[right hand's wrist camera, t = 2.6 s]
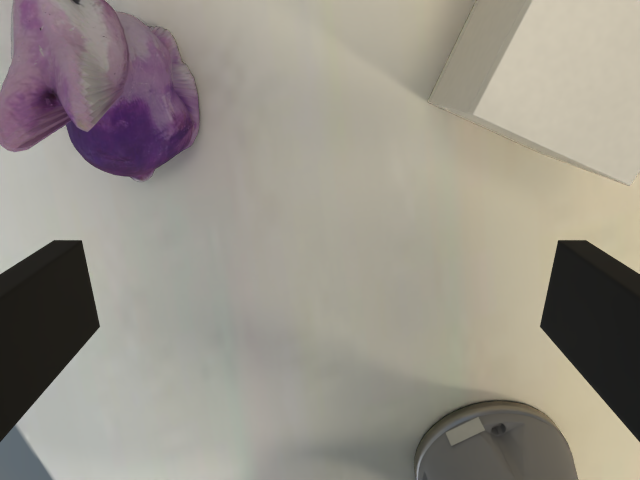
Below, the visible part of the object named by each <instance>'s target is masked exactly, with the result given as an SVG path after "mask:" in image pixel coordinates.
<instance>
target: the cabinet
mask: <svg viewBox="0 0 640 480" xmlns="http://www.w3.org/2000/svg"><path fill="white" fill-rule="evenodd" d="M428 103H430V104H433V105H435V106H437V107H439V108H441V109H444V110H446V111H448V112H450V113H453V114H455V115H457V116H459V117H461V118H464V119H466V120H468V121H470V122H472V123H475V124H477V125H479V126H481V127H484V128H486V129H488V130H490V131H492V132H495V133H497V134H499V135H501V136H503V137H506V138H508V139H510V140H512V141H514V142H517V143H519V144H521V145H523V146H526V147H528V148H530V149H532V150H534V151H537V152H539V153H541V154H544V155H547V156H549V157H552V158H554V159H557V160H560V161H563V162H565V163H568V164H571V165H573V166H576V167H579V168H582V169H584V170H587V171H590V172H592V173H595V174H598V175H601V176H603V177H606V178H609V179H611V180H614V181H617V182H620V183H622V184H625V185H628V186H630V185H631V184H632V183H633V181H634V180H635V178H636V177H637V175H638V174H639V172H640V0H476V2H475V4H474V6H473V8H472V10H471V12H470V14H469V16H468V19H467V21H466V23H465V25H464V27H463V29H462V31H461V33H460V35H459V37H458V39H457V41H456V43H455V46H454V48H453V50H452V52H451V54H450V56H449V58H448V60H447V62H446V64H445V66H444V68H443V70H442V73H441V75H440V77H439V79H438V81H437V83H436V85H435V87H434V89H433V91H432V93H431V95H430V97H429V100H428Z"/></svg>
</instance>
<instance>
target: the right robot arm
mask: <svg viewBox="0 0 640 480" xmlns="http://www.w3.org/2000/svg"><path fill="white" fill-rule="evenodd" d="M99 327H100V325H99V320H98V315H97V310H96V306H95V301H94V296H93V291H92V287H91V282H90V277H89V272H88V268H87V263H86V258H85V253H84V249H83V244H82V240H54V241H52V242H51V243H49V244H47V245H46V246H44V247H43V248H41V249H40V250H38V251H36V252H35V253H33V254H32V255H30V256H29V257H27V258H25V259H24V260H22V261H21V262H19V263H17V264H16V265H14V266H13V267H11V268H10V269H8V270H6V271H5V272H3V273H2V274H0V442H1V441H2V439H3V438H4V437H5V436H6V435H7V434H8V432H9V431H10V430H11V429H12V428H13V427H14V425H15V424H16V423H17V422H18V421H19V420H20V419H21V417H22V416H23V415H24V414H25V413H26V412H27V410H28V409H29V408H30V407H31V406H32V405H33V404H34V402H35V401H36V400H37V399H38V398H39V397H40V395H41V394H42V393H43V392H44V391H45V390H46V388H47V387H48V386H49V385H50V384H51V383H52V382H53V380H54V379H55V378H56V377H57V376H58V375H59V373H60V372H61V371H62V370H63V369H64V368H65V366H66V365H67V364H68V363H69V362H70V361H71V360H72V358H73V357H74V356H75V355H76V354H77V353H78V351H79V350H80V349H81V348H82V347H83V346H84V344H85V343H86V342H87V341H88V340H89V339H90V338H91V336H92V335H93V334H94V333H95V332H96V331H97V329H98V328H99ZM540 327H541V328H542V329H543V331H544V332H545V333H546V334H547V335H548V336H549V338H550V339H551V340H552V341H553V342H554V343H555V344H556V346H557V347H558V348H559V349H560V350H561V351H562V353H563V354H564V355H565V356H566V357H567V358H568V360H569V361H570V362H571V363H572V364H573V365H574V366H575V368H576V369H577V370H578V371H579V372H580V373H581V375H582V376H583V377H584V378H585V379H586V380H587V382H588V383H589V384H590V385H591V386H592V387H593V388H594V390H595V391H596V392H597V393H598V394H599V395H600V397H601V398H602V399H603V400H604V401H605V402H606V404H607V405H608V406H609V407H610V408H611V409H612V410H613V412H614V413H615V414H616V415H617V416H618V417H619V419H620V420H621V421H622V422H623V423H624V424H625V425H626V427H627V428H628V429H629V430H630V431H631V432H632V434H633V435H634V436H635V437H636V438H637V439H638V441H639V442H640V274H638V273H637V272H635V271H634V270H632V269H630V268H629V267H627V266H626V265H624V264H623V263H621V262H619V261H618V260H616V259H615V258H613V257H611V256H610V255H608V254H607V253H605V252H604V251H602V250H600V249H599V248H597V247H596V246H594V245H593V244H591V243H589V242H588V241H586V240H558V244H557V249H556V253H555V258H554V263H553V268H552V272H551V277H550V282H549V287H548V291H547V296H546V301H545V306H544V310H543V315H542V320H541V325H540ZM414 469H415V475H416V479H417V480H578V477H577V472H576V468H575V464H574V460H573V456H572V453H571V451H570V448H569V445H568V443H567V441H566V440H565V438H564V436H563V435H562V433H561V432H560V430H559V429H558V427H557V426H556V425H555V423H554V422H553V421H552V420H551V419H550V418H549V417H548V416H546V415H545V414H544V413H542V412H540V411H539V410H537V409H535V408H533V407H530V406H527V405H524V404H520V403H515V402H507V401H492V402H483V403H478V404H474V405H470V406H467V407H464V408H461V409H459V410H457V411H455V412H452V413H451V414H449V415H447V416H445V417H444V418H443V419H441V420H440V421H438V422H437V423H436V424H435V425H434V426H433V427H432V428H431V429H430V430H429V431H428V432H427V433H426V434H425V436H424V437H423V439H422V440H421V442H420V444H419V446H418V448H417V451H416V454H415V460H414Z"/></svg>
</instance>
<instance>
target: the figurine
mask: <svg viewBox="0 0 640 480" xmlns="http://www.w3.org/2000/svg"><path fill="white" fill-rule="evenodd" d="M11 56H12V63H11V66H10V68H9V71H8V74H7V77H6V79H5V80H4V82H3V86H2V89H1V92H0V144H1V146H2V147H4V148H5V149H7V150H9V151H13V152H17V151H23V150H27V149H29V148H31V147H32V146H34V145H35V144H37V143H38V142H40V141H41V140H43V139H44V138H46V137H48V136H49V135H51V134H52V133H54V132H55V131H57V130H58V129H60V128H61V127H63V126H64V125H66V126H67V130H68V133H69V137H70V139H71V142H72V143H73V145H74V147H75V148H76V150H77V151H78V152H79V153H80V154H81V155H82V157H83V158H84V159H85V160H86V161H87V162H89V163H90V164H91V165H93V166H94V167H96V168H98V169H100V170H102V171H104V172H108V173H111V174H114V175H119V176H130V177H131V178H132V179H134V180H136V181H139V182H142V181H146V180H148V179H149V178H150V177H152V175H153V173H154V170H155V169H156V168H158V167H159V166H161V165H162V164H164V163H166V162H167V161H168V160H170V159H171V158H173V157H174V156H175V155H177V154H178V153H180V152H181V151H183V150H185V149H187V148H188V147H190V146H191V145H192V144H193V142H194V140H195V138H196V136H197V134H198V131H199V120H200V118H199V105H198V94H197V89H196V85H195V81H194V77H193V76H192V74H191V72H190V70H189V69H188V67H187V65H186V64H184V63H183V62H182V61H181V56H180V54H179V51H178V47H177V44H176V42H175V39H174V37H173V36H172V34H171V33H170V32H169V31H168V30H165V29H164V28H162V27H154V28H153V27H152V26H151V27H149V26H146V25H145V24H144V23H142V22H141V21H140V20H139V19H137V18H136V17H134V16H132V15H129V14H126V13H122V12H116V11H114V10H113V8H112V7H111V6H110V5H109V4H108V3H107V2H106V1H104V0H13V7H12V15H11Z"/></svg>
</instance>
